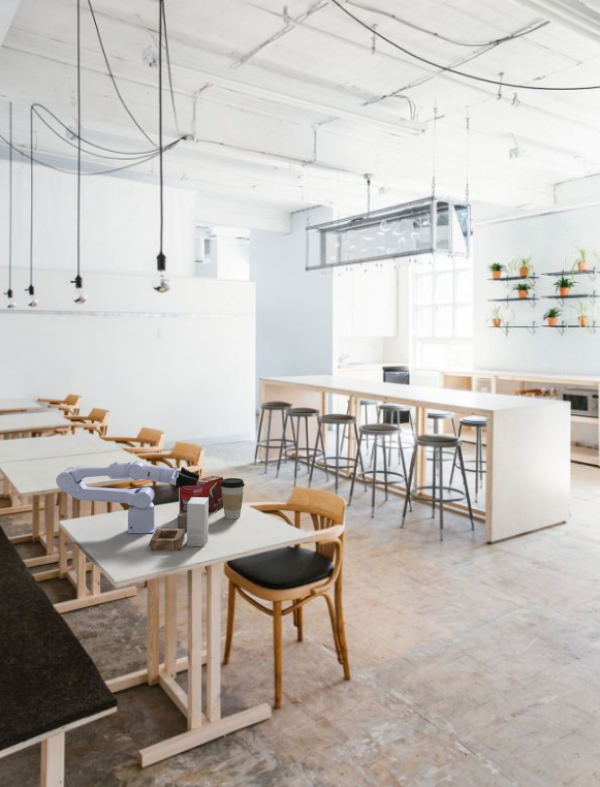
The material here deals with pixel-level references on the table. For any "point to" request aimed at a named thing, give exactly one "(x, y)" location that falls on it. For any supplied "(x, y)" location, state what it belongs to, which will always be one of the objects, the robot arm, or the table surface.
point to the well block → (167, 539)
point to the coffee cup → (232, 497)
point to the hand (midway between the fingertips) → (197, 480)
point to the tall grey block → (182, 521)
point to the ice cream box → (203, 493)
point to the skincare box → (197, 521)
